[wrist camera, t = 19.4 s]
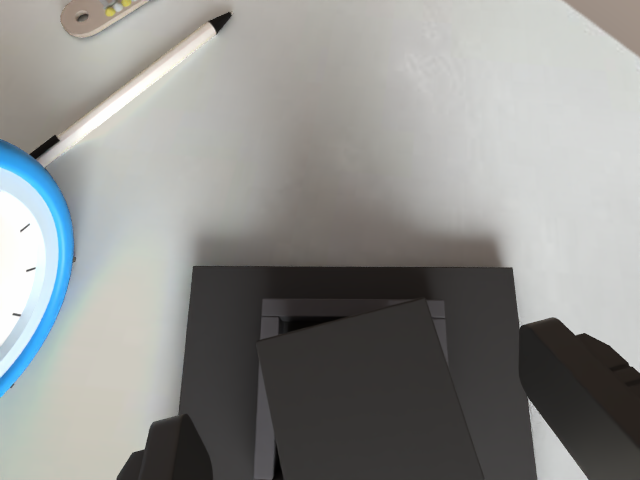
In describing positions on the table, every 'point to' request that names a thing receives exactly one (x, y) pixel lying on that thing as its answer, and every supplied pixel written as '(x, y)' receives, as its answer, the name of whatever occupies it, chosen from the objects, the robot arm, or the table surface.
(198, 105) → the table surface
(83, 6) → the keychain
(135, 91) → the pen
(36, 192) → the alarm clock
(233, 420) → the base pad
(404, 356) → the pad block
